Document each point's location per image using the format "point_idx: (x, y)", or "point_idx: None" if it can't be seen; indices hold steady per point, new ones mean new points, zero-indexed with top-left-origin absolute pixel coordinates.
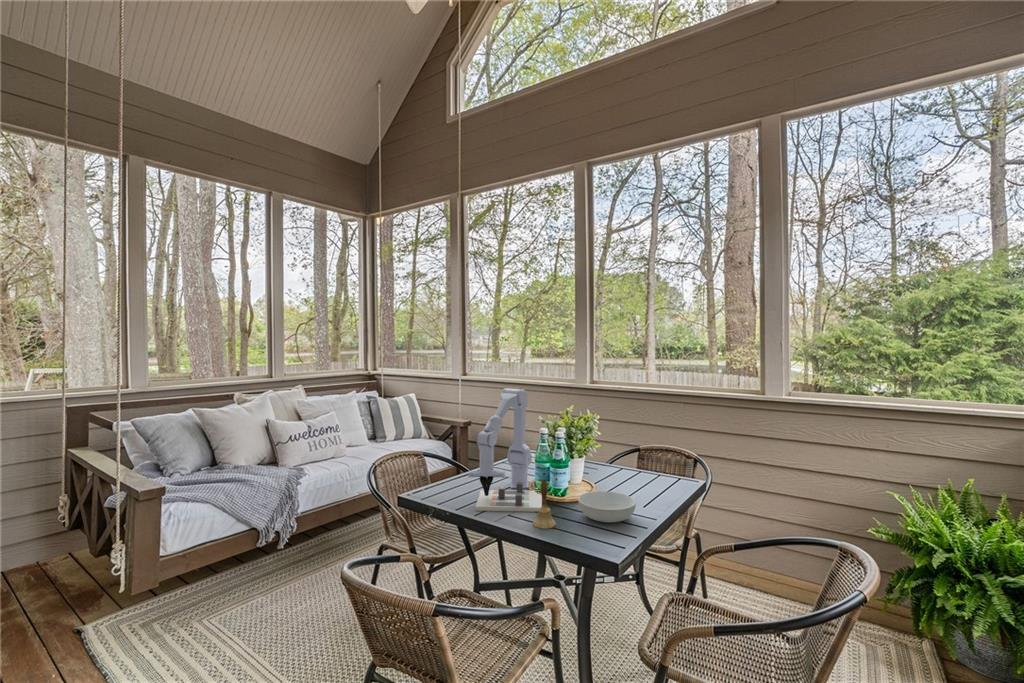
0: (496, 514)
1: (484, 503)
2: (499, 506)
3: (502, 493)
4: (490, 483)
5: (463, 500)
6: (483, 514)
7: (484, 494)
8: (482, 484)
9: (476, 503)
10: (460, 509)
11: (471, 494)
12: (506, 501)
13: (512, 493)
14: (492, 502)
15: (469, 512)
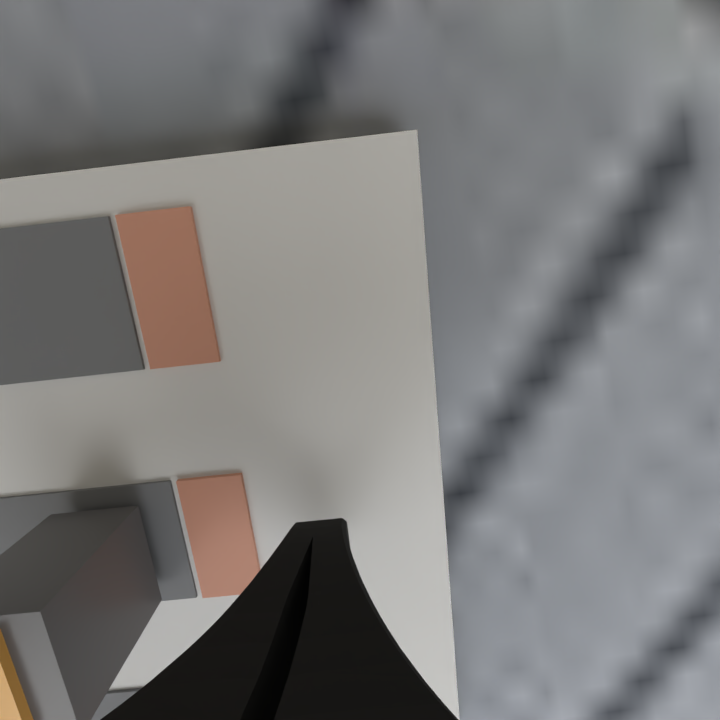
0: (68, 36)
1: (304, 300)
2: (34, 201)
3: (26, 560)
4: (124, 712)
5: (628, 495)
6: (257, 2)
7: None
8: (385, 660)
9: (427, 281)
10: (629, 161)
11: (557, 685)
12: (6, 430)
13: None
14: (189, 347)
15: (480, 56)
